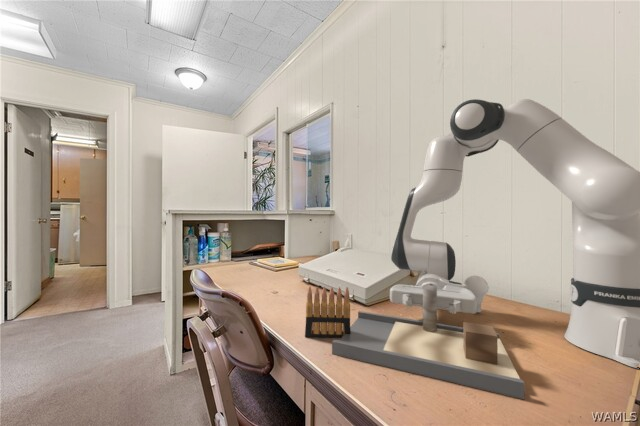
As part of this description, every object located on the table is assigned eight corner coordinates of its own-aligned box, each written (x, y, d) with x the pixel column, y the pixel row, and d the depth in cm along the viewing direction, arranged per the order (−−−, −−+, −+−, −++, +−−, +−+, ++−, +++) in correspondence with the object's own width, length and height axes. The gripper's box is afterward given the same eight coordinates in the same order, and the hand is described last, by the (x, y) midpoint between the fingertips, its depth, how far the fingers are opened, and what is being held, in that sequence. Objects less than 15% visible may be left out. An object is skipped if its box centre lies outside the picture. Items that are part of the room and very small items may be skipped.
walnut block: (492, 352, 52) (492, 326, 52) (497, 364, 47) (497, 336, 47) (463, 346, 54) (463, 321, 54) (465, 358, 49) (465, 331, 49)
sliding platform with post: (499, 342, 58) (499, 292, 58) (520, 384, 43) (520, 317, 43) (395, 324, 67) (395, 281, 67) (383, 354, 52) (383, 298, 52)
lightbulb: (459, 310, 81) (459, 274, 82) (475, 308, 83) (475, 273, 83) (477, 317, 75) (476, 278, 75) (493, 315, 77) (493, 277, 77)
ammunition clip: (304, 339, 62) (305, 287, 62) (305, 335, 63) (306, 285, 64) (350, 340, 61) (351, 288, 62) (350, 336, 63) (350, 286, 63)
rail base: (498, 344, 59) (498, 333, 59) (524, 399, 41) (524, 383, 41) (359, 320, 72) (359, 310, 72) (332, 353, 54) (332, 341, 54)
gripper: (393, 276, 78) (384, 287, 66) (472, 284, 70) (480, 299, 57) (393, 298, 78) (384, 313, 66) (472, 308, 70) (480, 328, 57)
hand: (429, 306), depth 61 cm, fingers open, 8 cm apart
